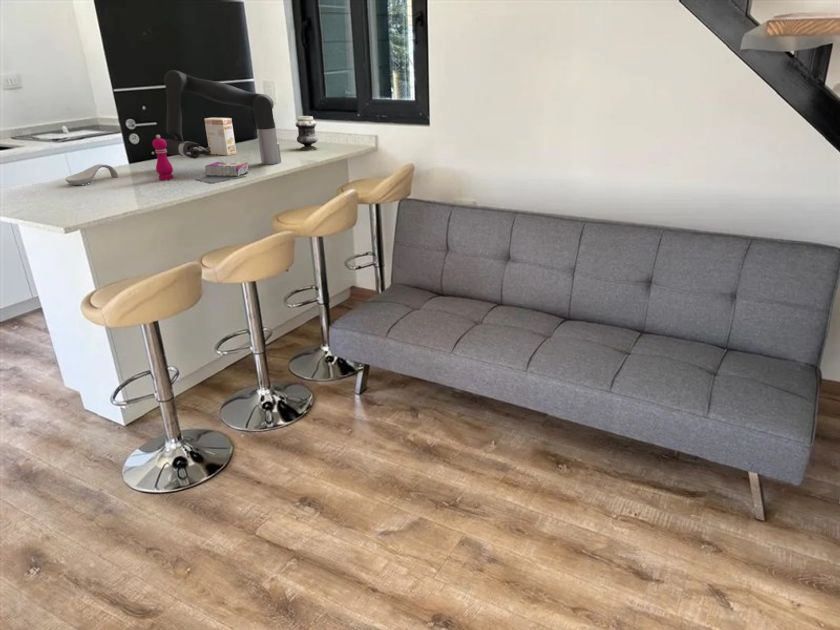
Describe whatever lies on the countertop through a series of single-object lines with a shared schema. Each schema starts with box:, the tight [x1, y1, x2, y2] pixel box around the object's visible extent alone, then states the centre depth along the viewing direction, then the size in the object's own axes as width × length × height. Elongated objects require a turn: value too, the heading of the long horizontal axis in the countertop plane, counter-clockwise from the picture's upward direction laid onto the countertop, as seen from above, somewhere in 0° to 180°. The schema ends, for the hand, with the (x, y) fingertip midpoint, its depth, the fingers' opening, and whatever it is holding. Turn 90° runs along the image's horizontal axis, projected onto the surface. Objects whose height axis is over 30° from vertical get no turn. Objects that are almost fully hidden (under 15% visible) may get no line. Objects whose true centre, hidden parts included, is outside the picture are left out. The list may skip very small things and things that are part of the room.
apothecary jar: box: [295, 115, 319, 151], centre depth 353 cm, size 12×12×18 cm
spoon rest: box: [64, 163, 119, 186], centre depth 285 cm, size 24×12×7 cm, turn 151°
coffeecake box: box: [204, 117, 237, 156], centre depth 346 cm, size 15×7×20 cm, turn 58°
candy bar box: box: [204, 161, 250, 177], centre depth 291 cm, size 11×5×16 cm
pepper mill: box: [152, 134, 174, 181], centre depth 283 cm, size 7×7×20 cm
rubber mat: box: [194, 174, 247, 184], centre depth 284 cm, size 18×14×1 cm
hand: (208, 153), depth 287 cm, fingers closed
